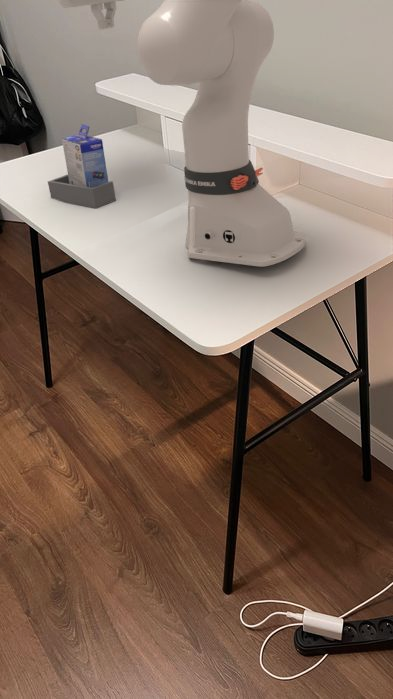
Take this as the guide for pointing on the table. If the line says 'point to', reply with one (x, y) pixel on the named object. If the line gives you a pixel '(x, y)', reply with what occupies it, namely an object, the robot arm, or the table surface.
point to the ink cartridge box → (85, 159)
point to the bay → (81, 193)
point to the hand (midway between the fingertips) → (106, 28)
